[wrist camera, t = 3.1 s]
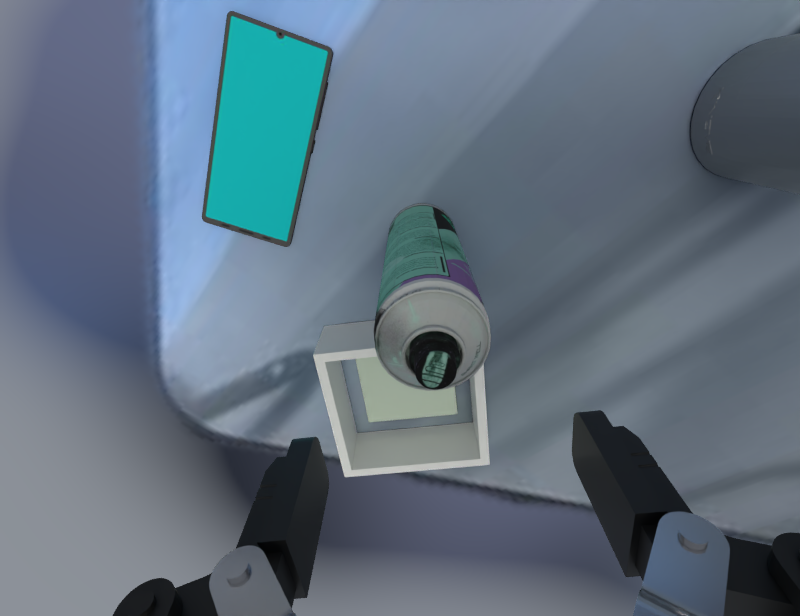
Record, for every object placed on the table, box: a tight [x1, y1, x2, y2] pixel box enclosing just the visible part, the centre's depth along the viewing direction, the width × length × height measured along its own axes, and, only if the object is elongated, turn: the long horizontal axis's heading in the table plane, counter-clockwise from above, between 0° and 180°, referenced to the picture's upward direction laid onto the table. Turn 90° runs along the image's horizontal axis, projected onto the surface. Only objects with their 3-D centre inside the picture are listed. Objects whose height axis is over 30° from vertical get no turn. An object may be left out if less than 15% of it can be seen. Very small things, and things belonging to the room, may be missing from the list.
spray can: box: [374, 204, 491, 391], centre depth 26 cm, size 6×6×20 cm
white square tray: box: [313, 320, 490, 477], centre depth 39 cm, size 14×14×5 cm
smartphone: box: [202, 11, 333, 247], centre depth 32 cm, size 7×1×15 cm
